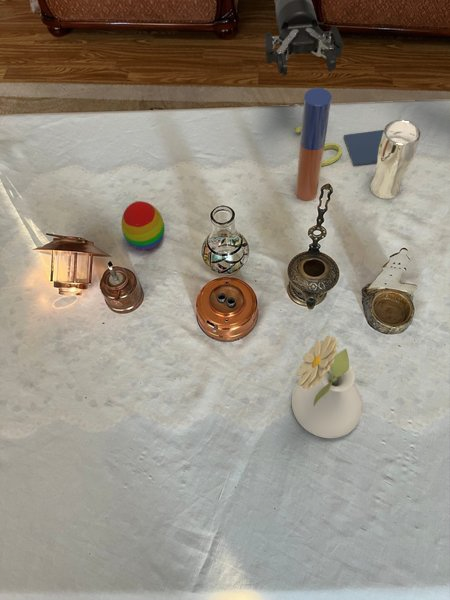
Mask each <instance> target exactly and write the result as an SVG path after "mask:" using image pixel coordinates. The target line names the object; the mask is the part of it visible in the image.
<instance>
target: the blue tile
mask: <svg viewBox="0 0 450 600" xmlns="http://www.w3.org/2000/svg"><path fill="white" fill-rule="evenodd" d="M383 132H384V129H381V130H379V129H378V130H372V131H371V130H370V131H364V132H363V131H362V132H355V133H349V134H344V135H343V140H344V143H345V145H346V149H347V151H348V154H349V157H350V160H351V163H352V166H353V167H360V166H369V165H377V151H378V147H379V143H380V140H381V137H382V135H383Z"/></svg>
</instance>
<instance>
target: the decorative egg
mask: <svg viewBox="0 0 450 600" xmlns="http://www.w3.org/2000/svg"><path fill="white" fill-rule="evenodd" d="M121 230H122V231H121V232H122V234H123V236H124V238H125V240H126V241H127V243H129V245H130V246H132V247H133V248H136V249H138V250H142V251H143V250H145V251H146V250H151V249H154V248H155V247H156V246H158V245H159V244H160V243H161V241H162V240H163V238H164V234H165V221H164V218H163V216H162V215H161V213H160V212H159V210H158V209H157V207H155V206H154V205H153V204H151V203H149V202H146V201H142V200H140V201H134V202H132V203H130V204H129V205H128V206H127V207H126V208H125V210H124V211H123V214H122V217H121Z"/></svg>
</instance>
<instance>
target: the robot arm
mask: <svg viewBox="0 0 450 600" xmlns="http://www.w3.org/2000/svg"><path fill="white" fill-rule="evenodd" d="M273 4H274V8H275V20H276V21H275V22H276V25H277V28H278V33H279V35H273V34H272V32H269V31H268V32H265V33H264V34H265V35H264V49H265V50H264V52H265V60H266V61H265V62H266V63H267V64H272V63H275V64H276V66H277V71H278V73H279V74H281V75H282V77H287V76H288V63H287V61H288V60H289V59H290V58H291V57H292V55H293V54H294V55H295V56H297V55H301V54H313V55H314V56H316V57H318V58H320V57H322V58H324V59H325V63H326V66H327V70H328V72H330V73H333V72H334V69H336V67H337V61H338V58H341V57H342V54H343V46H344V41H343V39H342V37H341V34H340V31H339V29H338V27H337V26H330V30H327V31H323V30H322V29H321V28H320V26H319V22H318V19H317V18H318V17H317V14H316V11H315V7H314V4H313V1H312V0H273ZM277 44H278V45H279V47H278V49H277V50H275V47H276V46H277Z"/></svg>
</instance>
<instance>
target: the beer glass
mask: <svg viewBox="0 0 450 600" xmlns="http://www.w3.org/2000/svg"><path fill="white" fill-rule="evenodd" d="M383 130H384V132H383V135H382V137H381V140H380V143H379V147H378V151H377V163H376V166H375V167H376V168H375V174H374V177H373V178H372V180H371V181H370V185H369V186H370V187H369V189H370V192H371V193H372V194H373V195H374V196H376V197H377V198H380V199H383V200H389V199H394V198H395V197H397V196H398V195H399V194H400V192H401V186H402V180H403V178H404V176H405V174H406V172H407V171H408V169H409V168H410V166H411V164H412V162H413V160H414V159H415V156H416V153H417V151H418V147H419V142H420V138H421V130H420V128H419V127H418V126H417V124H415V123H414V122H411V121H409V120H406V119H396V120H392V121H390V122H389V123H387V124H386V125H385V127H384V128H383Z"/></svg>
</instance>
